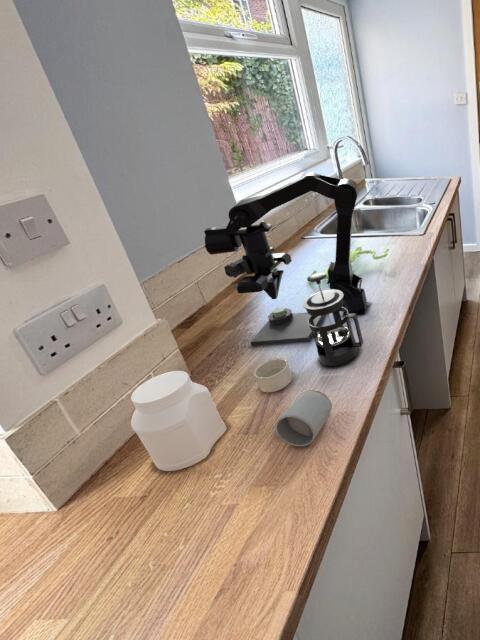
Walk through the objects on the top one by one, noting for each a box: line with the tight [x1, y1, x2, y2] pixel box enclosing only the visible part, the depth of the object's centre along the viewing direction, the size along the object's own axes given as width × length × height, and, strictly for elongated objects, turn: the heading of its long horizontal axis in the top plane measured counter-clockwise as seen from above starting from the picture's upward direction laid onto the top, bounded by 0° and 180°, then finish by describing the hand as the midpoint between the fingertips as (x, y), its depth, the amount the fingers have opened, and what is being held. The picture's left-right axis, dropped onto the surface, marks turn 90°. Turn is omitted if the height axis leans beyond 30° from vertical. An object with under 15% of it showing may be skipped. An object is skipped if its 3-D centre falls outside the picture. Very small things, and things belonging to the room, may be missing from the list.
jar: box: [130, 370, 227, 472], centre depth 76 cm, size 12×10×15 cm
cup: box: [253, 357, 293, 393], centre depth 93 cm, size 7×7×4 cm
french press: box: [302, 272, 364, 370], centre depth 97 cm, size 12×9×23 cm
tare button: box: [272, 306, 286, 318], centre depth 115 cm, size 3×3×2 cm
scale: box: [250, 308, 327, 347], centre depth 113 cm, size 15×14×3 cm
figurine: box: [311, 246, 390, 280], centre depth 144 cm, size 18×27×6 cm
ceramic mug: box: [272, 389, 333, 447], centre depth 79 cm, size 11×8×8 cm
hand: (274, 298), depth 113 cm, fingers closed
